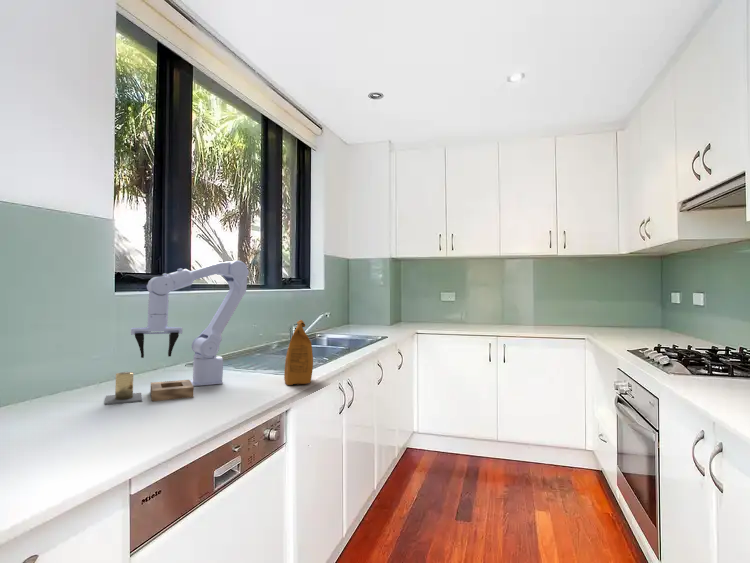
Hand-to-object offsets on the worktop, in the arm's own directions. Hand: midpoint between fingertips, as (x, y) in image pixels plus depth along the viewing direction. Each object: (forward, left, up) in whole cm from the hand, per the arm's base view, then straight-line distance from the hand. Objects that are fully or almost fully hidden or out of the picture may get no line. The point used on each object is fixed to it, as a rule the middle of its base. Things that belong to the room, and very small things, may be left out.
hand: (156, 356), depth 133 cm
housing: (-4, +9, -10) cm, 14 cm away
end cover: (+8, +9, -10) cm, 16 cm away
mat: (+8, +9, -10) cm, 16 cm away
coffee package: (-45, +8, -11) cm, 47 cm away
